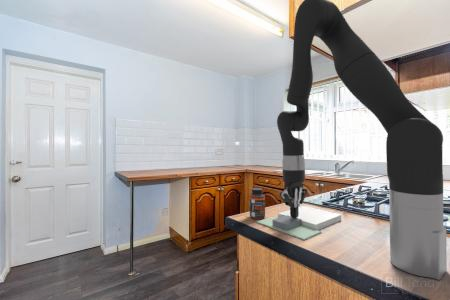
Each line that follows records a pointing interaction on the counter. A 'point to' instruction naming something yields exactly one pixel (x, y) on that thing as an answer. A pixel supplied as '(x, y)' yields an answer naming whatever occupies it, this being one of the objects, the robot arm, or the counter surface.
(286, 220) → the grey flat block
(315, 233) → the mat
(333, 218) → the riser
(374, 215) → the counter surface
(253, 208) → the supplement bottle
